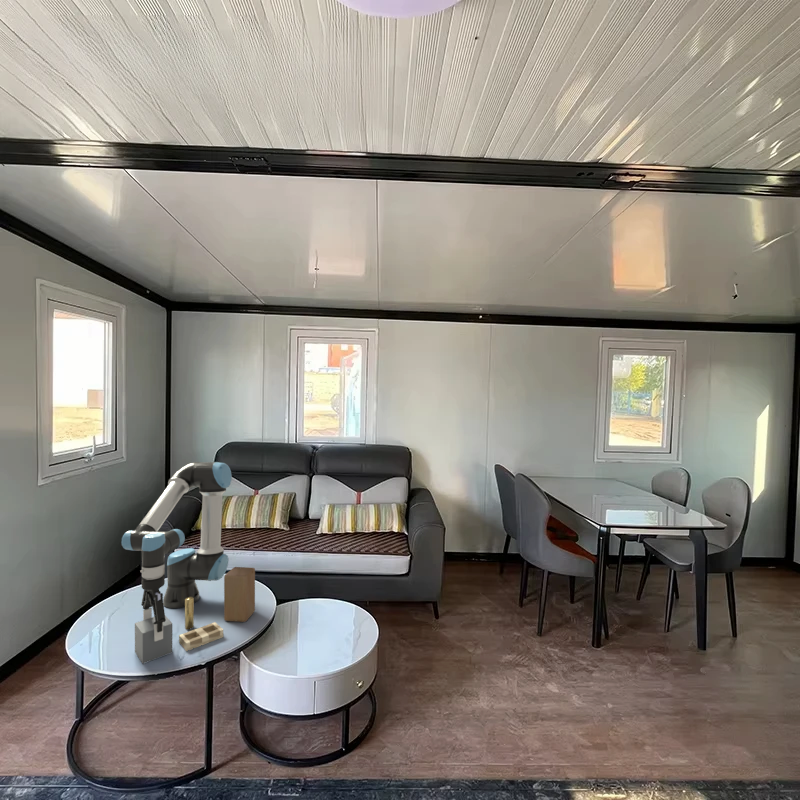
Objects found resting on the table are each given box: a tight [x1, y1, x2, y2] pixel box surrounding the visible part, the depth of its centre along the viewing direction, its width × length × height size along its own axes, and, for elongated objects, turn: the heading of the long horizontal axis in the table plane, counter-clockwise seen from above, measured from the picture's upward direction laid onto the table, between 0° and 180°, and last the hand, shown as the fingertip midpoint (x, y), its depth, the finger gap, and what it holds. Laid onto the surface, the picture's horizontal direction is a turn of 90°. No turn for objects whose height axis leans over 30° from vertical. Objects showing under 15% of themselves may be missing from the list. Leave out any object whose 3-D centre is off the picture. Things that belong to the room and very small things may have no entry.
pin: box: [184, 597, 195, 630], centre depth 183 cm, size 3×3×12 cm
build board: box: [178, 621, 224, 652], centre depth 174 cm, size 8×14×3 cm, turn 135°
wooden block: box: [223, 566, 256, 623], centre depth 192 cm, size 10×10×20 cm
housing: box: [134, 615, 173, 665], centre depth 166 cm, size 10×10×11 cm
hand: (152, 632), depth 165 cm, fingers open, 13 cm apart
